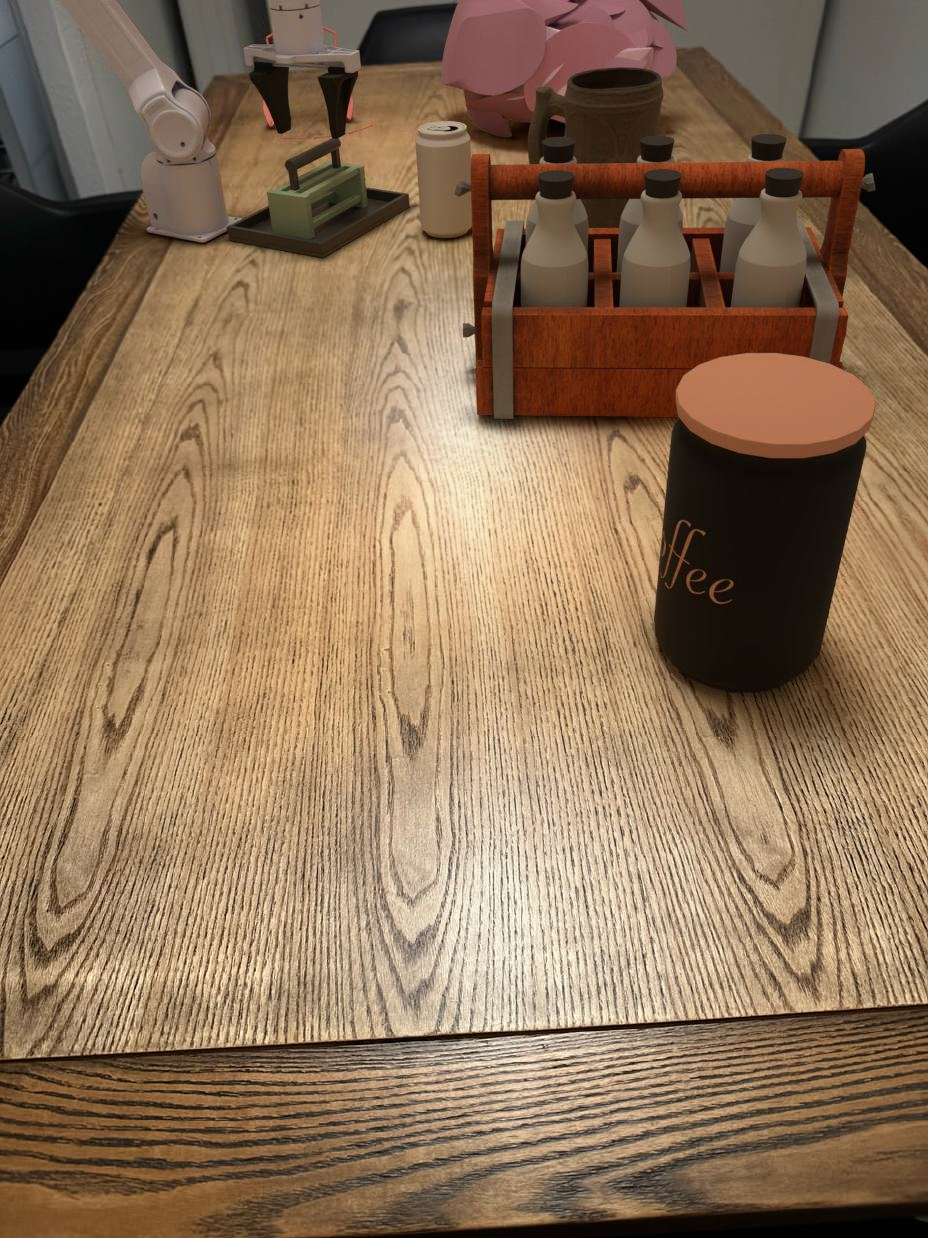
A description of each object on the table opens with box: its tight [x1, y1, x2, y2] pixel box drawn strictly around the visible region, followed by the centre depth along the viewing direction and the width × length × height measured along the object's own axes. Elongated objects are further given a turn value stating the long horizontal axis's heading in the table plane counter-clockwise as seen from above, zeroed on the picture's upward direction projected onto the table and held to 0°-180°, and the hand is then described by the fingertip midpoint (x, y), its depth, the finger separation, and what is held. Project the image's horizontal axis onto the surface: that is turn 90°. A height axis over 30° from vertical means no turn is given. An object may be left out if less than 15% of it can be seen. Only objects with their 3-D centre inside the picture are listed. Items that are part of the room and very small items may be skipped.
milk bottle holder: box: [454, 133, 876, 420], centre depth 94 cm, size 21×35×19 cm, turn 85°
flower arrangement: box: [440, 0, 689, 138], centre depth 155 cm, size 35×24×28 cm
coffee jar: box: [653, 353, 877, 693], centre depth 64 cm, size 11×11×18 cm
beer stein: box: [527, 67, 665, 228], centre depth 115 cm, size 15×11×20 cm
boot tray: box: [226, 186, 411, 259], centre depth 134 cm, size 14×19×2 cm
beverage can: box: [414, 120, 472, 239], centre depth 127 cm, size 6×6×12 cm
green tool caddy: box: [266, 137, 368, 239], centre depth 132 cm, size 6×13×8 cm, turn 152°
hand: (311, 133), depth 129 cm, fingers open, 7 cm apart
